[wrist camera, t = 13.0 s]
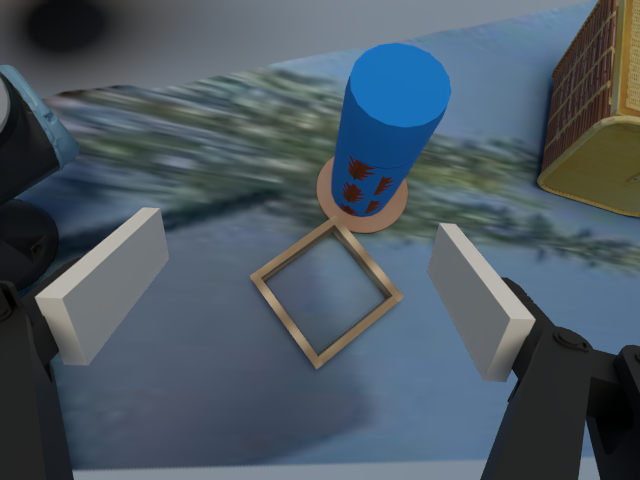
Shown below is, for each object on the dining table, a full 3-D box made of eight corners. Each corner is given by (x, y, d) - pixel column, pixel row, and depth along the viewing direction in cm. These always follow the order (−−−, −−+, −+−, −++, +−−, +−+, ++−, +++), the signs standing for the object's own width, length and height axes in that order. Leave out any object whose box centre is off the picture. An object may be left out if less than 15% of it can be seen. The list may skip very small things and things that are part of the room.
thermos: (355, 150, 60) (389, 25, 36) (403, 185, 58) (472, 79, 34) (317, 192, 57) (326, 87, 33) (366, 230, 55) (413, 149, 32)
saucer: (298, 181, 58) (298, 180, 58) (367, 135, 62) (367, 133, 61) (355, 251, 55) (356, 250, 54) (425, 198, 58) (426, 197, 58)
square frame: (253, 280, 53) (249, 276, 49) (333, 222, 56) (335, 214, 52) (315, 367, 50) (316, 369, 46) (396, 300, 53) (404, 297, 49)
